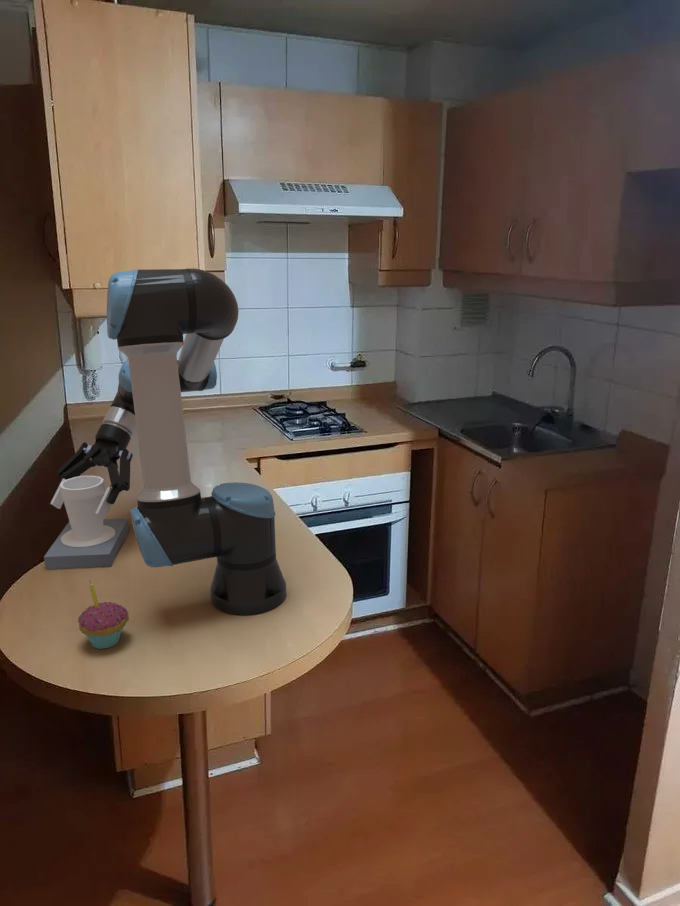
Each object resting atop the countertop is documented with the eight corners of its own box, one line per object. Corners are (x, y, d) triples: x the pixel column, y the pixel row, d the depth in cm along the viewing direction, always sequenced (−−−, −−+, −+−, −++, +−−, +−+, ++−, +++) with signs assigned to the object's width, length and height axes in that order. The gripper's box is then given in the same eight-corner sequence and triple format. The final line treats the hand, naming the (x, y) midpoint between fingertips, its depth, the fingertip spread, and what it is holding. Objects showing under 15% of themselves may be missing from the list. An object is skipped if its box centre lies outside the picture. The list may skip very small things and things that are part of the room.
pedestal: (110, 566, 156) (109, 552, 155) (45, 569, 155) (43, 555, 154) (129, 529, 175) (127, 517, 174) (71, 531, 174) (69, 519, 173)
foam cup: (95, 523, 170) (89, 472, 166) (118, 533, 164) (111, 481, 160) (59, 536, 163) (51, 483, 159) (81, 547, 157) (73, 493, 153)
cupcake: (71, 649, 125) (62, 589, 122) (102, 625, 133) (94, 567, 129) (110, 659, 122) (103, 597, 119) (140, 633, 130) (134, 575, 126)
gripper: (166, 444, 166) (129, 526, 157) (86, 432, 176) (47, 509, 168) (149, 428, 159) (110, 513, 151) (67, 416, 170) (26, 495, 162)
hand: (77, 511), depth 159 cm, fingers open, 13 cm apart
